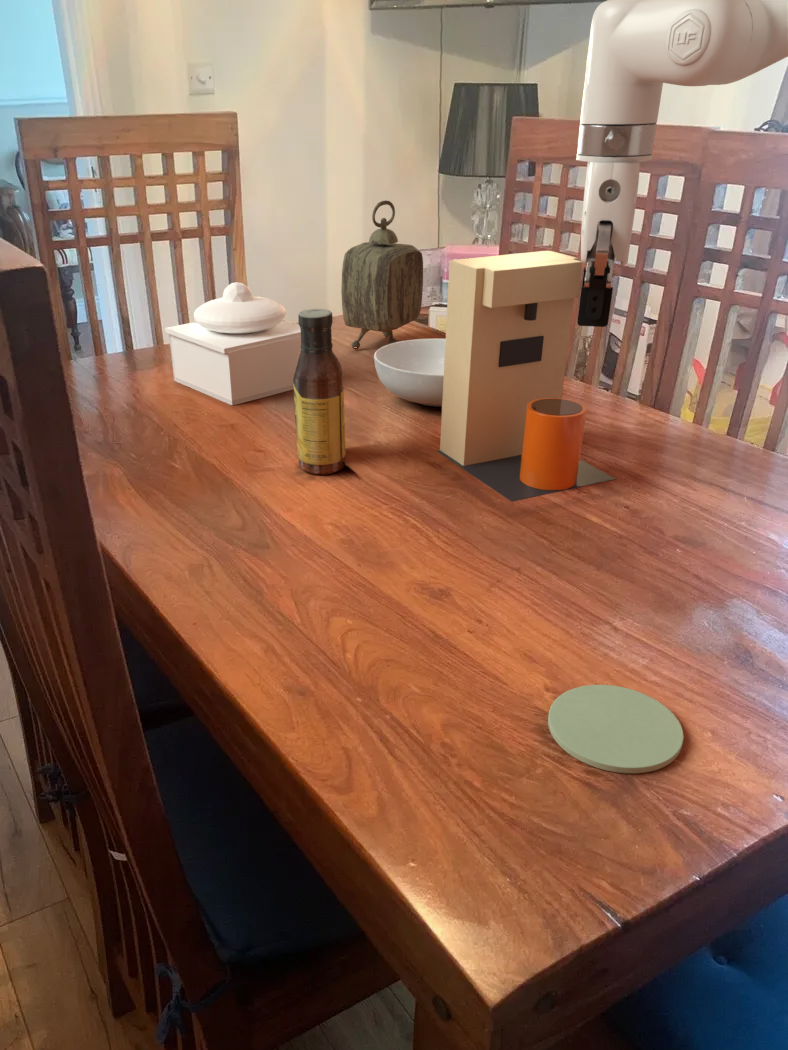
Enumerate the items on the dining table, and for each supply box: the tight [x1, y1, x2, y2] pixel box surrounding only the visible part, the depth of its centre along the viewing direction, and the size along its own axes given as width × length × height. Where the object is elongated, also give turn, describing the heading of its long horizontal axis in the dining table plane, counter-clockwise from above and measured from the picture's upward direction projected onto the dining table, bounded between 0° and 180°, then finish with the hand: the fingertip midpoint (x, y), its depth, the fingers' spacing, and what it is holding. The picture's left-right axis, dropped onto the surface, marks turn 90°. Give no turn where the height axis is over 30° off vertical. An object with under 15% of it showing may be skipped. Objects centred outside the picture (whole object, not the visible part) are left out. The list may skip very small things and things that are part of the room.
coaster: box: [547, 684, 685, 775], centre depth 67 cm, size 10×10×1 cm
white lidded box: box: [164, 281, 301, 406], centre depth 140 cm, size 18×18×16 cm
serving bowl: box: [373, 337, 446, 408], centre depth 134 cm, size 21×21×7 cm
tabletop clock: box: [341, 200, 424, 350], centre depth 157 cm, size 14×9×25 cm, turn 145°
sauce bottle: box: [293, 308, 347, 476], centre depth 107 cm, size 6×6×20 cm
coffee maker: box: [436, 250, 616, 503], centre depth 103 cm, size 18×15×25 cm
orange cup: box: [519, 397, 588, 490], centre depth 102 cm, size 7×7×9 cm
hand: (592, 315), depth 97 cm, fingers open, 9 cm apart
